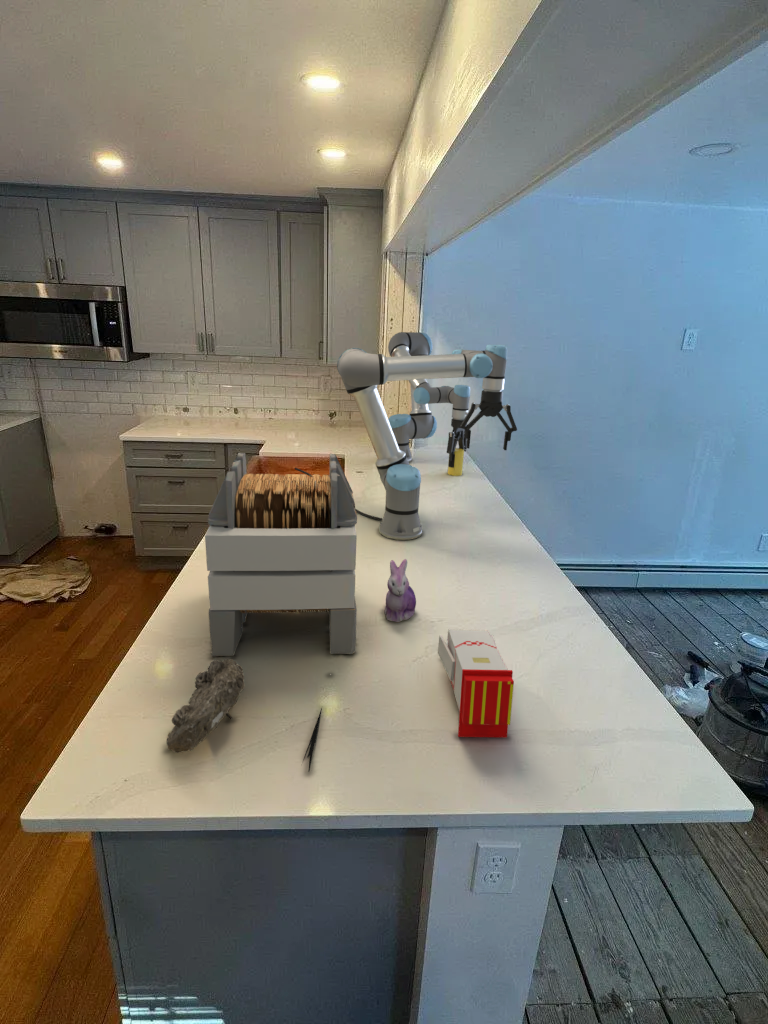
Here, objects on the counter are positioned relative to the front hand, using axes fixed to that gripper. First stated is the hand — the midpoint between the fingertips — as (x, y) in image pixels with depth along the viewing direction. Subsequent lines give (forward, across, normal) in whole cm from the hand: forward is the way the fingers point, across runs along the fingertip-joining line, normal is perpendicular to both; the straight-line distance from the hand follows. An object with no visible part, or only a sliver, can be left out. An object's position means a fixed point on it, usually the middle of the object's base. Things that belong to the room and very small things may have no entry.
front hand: (486, 448), depth 209 cm
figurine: (+28, +30, +76) cm, 86 cm away
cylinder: (+28, +4, -62) cm, 68 cm away
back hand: (+23, +4, -62) cm, 67 cm away
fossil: (+28, +66, +118) cm, 138 cm away
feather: (+28, +45, +117) cm, 128 cm away
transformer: (+28, +58, +81) cm, 103 cm away
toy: (+28, +15, +106) cm, 111 cm away
